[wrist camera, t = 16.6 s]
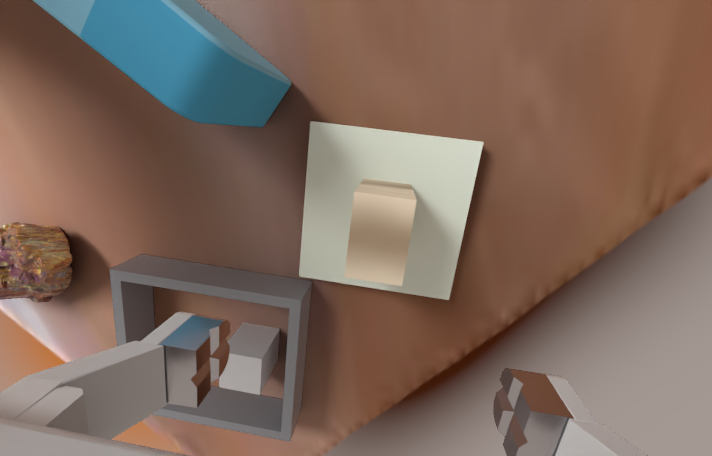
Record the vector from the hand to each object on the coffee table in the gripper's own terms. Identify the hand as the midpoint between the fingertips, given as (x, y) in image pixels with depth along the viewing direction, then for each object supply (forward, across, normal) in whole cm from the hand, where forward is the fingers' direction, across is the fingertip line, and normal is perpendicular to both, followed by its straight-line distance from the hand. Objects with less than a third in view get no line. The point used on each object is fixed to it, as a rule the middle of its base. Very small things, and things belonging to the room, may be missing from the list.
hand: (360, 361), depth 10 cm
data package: (+21, +15, -11) cm, 28 cm away
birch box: (+20, 0, 0) cm, 20 cm away
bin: (+21, +15, +16) cm, 30 cm away
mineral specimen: (+21, +36, +10) cm, 43 cm away
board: (+21, 0, 0) cm, 21 cm away
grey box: (+21, +11, +16) cm, 29 cm away
